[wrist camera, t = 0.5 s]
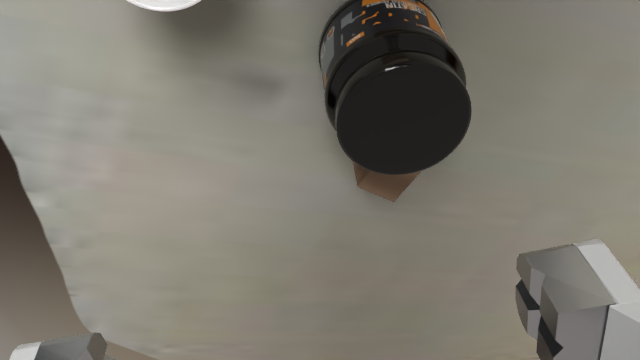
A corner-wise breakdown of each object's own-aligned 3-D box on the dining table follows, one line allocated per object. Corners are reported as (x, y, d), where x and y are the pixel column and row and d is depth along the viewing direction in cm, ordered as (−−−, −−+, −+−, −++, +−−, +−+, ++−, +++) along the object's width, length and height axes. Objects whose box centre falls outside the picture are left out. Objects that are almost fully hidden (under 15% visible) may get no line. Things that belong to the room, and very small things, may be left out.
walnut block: (373, 115, 55) (383, 155, 51) (407, 132, 57) (420, 172, 52) (350, 145, 57) (357, 186, 53) (383, 161, 59) (393, 201, 54)
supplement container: (463, 9, 49) (509, 85, 40) (404, 110, 55) (432, 196, 46) (347, -37, 46) (369, 34, 37) (298, 76, 52) (306, 161, 43)
